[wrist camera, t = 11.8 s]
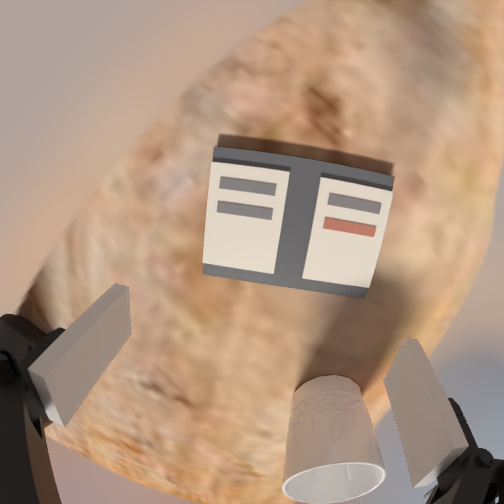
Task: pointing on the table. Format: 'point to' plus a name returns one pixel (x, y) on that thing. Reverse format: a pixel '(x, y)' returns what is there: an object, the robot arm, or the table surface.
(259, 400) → the table surface
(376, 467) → the white cup
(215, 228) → the label board
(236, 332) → the table surface
